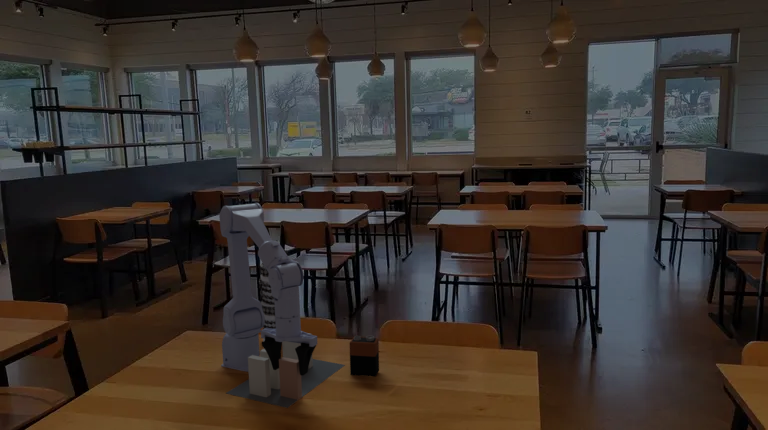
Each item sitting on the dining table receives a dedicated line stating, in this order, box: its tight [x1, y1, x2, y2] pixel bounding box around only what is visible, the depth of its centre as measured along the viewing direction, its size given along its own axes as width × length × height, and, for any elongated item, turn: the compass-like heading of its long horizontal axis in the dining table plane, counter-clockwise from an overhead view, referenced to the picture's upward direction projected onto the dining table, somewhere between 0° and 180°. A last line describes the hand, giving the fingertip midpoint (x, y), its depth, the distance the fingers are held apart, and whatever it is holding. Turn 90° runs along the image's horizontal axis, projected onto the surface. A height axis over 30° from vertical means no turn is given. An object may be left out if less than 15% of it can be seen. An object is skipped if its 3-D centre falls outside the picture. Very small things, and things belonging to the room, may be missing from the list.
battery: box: [349, 335, 380, 378], centre depth 144 cm, size 4×7×10 cm, turn 79°
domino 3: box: [281, 341, 301, 360], centre depth 145 cm, size 2×5×9 cm, turn 64°
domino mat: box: [225, 358, 346, 409], centre depth 142 cm, size 18×26×1 cm
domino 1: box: [248, 355, 271, 397], centre depth 133 cm, size 2×5×9 cm, turn 64°
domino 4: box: [279, 356, 303, 401], centre depth 132 cm, size 2×5×9 cm, turn 64°
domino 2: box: [259, 348, 280, 389], centre depth 137 cm, size 2×5×9 cm, turn 64°
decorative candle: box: [258, 262, 276, 342], centre depth 169 cm, size 9×9×25 cm
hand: (290, 371), depth 131 cm, fingers open, 7 cm apart
